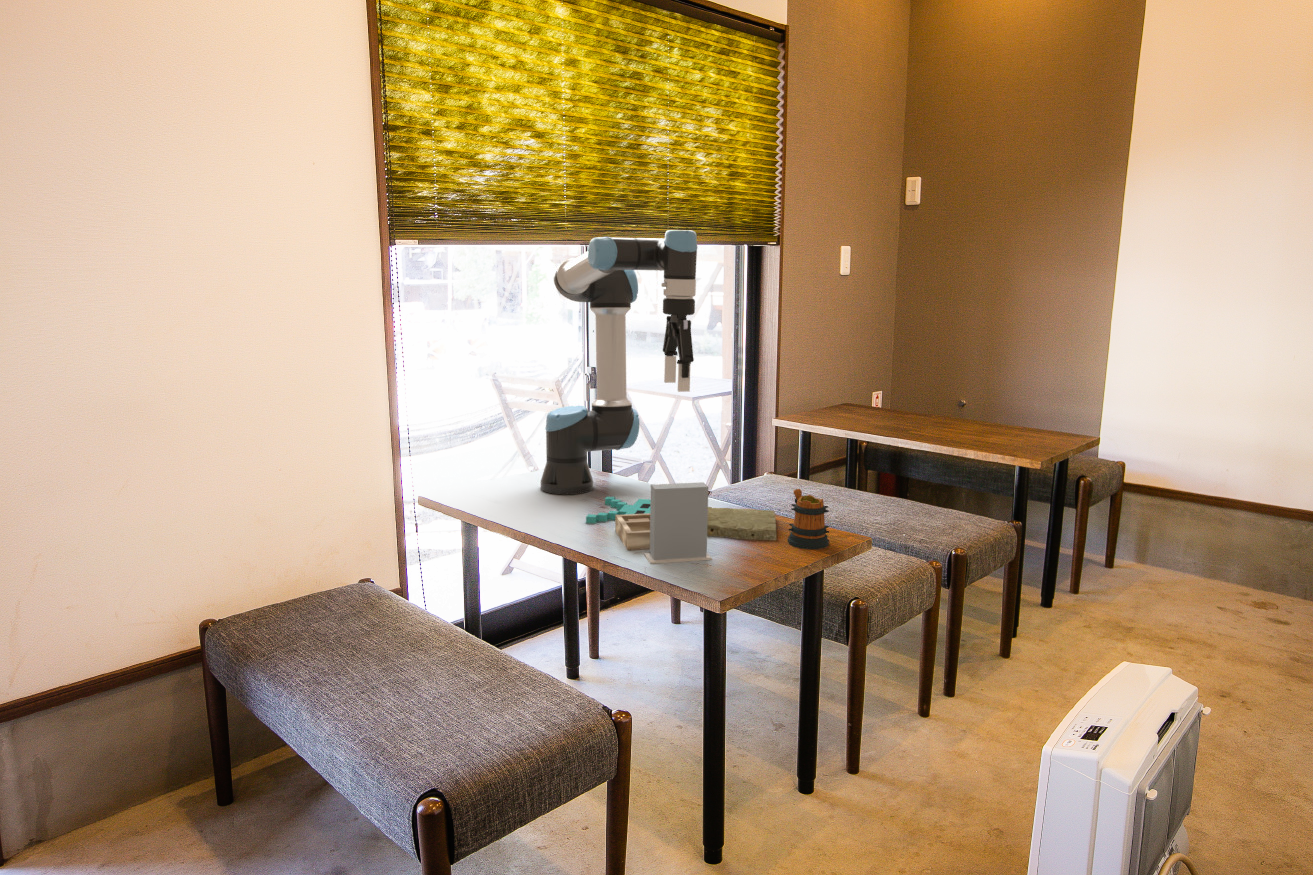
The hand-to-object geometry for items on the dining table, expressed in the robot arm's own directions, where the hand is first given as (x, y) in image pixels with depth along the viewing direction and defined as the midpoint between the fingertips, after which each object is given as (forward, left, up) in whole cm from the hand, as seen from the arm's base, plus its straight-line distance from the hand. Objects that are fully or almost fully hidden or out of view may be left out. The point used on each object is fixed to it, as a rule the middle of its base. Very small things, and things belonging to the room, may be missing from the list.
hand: (676, 386), depth 211 cm
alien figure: (-12, -7, -36) cm, 38 cm away
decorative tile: (+3, +15, -36) cm, 39 cm away
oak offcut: (+4, -10, -35) cm, 37 cm away
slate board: (+22, -5, -35) cm, 41 cm away
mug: (+17, +28, -35) cm, 48 cm away
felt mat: (+23, -5, -35) cm, 42 cm away
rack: (+8, -6, -35) cm, 36 cm away
